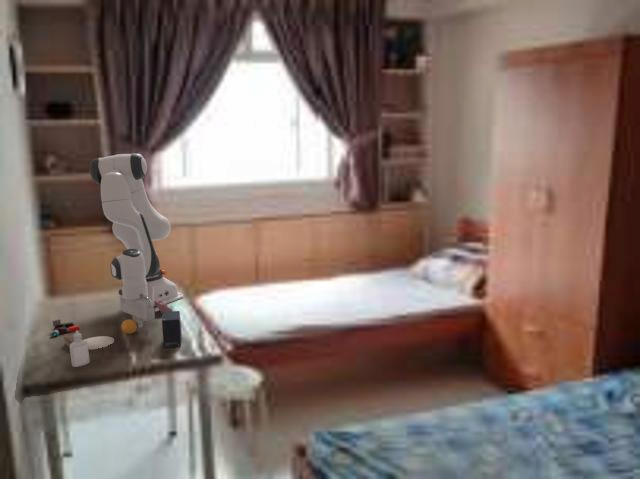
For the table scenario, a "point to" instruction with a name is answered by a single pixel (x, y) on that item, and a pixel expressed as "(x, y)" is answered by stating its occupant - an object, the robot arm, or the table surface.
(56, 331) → the toy gun
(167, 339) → the small box
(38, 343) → the table surface
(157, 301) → the video game controller
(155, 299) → the robot arm
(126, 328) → the ball
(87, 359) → the eye dropper bottle
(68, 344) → the rail
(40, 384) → the table surface
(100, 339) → the white flat disc
